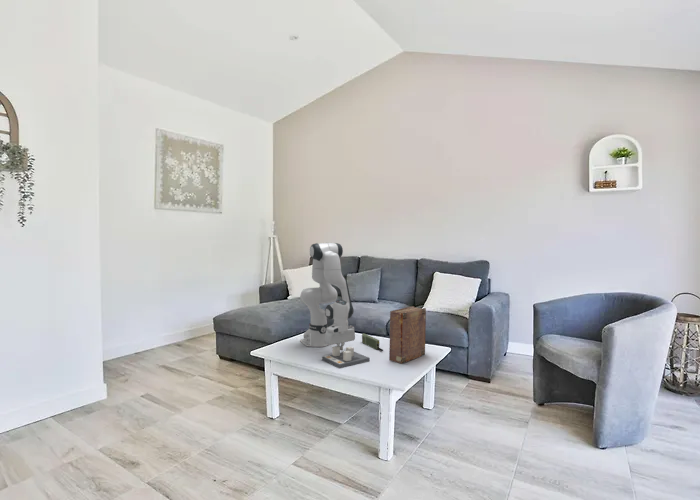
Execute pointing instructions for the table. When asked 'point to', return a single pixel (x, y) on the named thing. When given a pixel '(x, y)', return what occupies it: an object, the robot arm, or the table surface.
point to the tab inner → (336, 351)
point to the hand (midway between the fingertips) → (340, 349)
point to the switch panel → (341, 363)
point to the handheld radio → (371, 341)
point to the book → (407, 334)
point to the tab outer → (346, 355)
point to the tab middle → (350, 350)
